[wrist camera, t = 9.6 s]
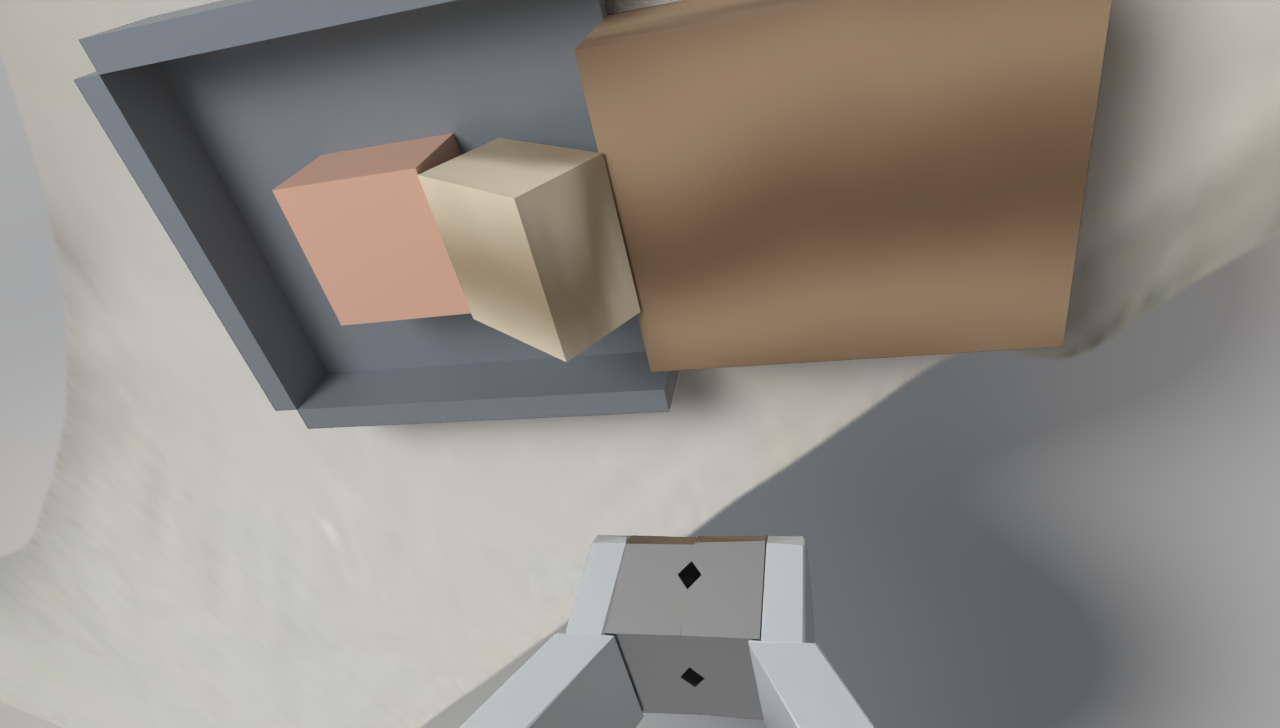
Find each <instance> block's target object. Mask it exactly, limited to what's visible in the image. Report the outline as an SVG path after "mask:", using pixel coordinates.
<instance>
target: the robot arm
mask: <svg viewBox="0 0 1280 728" xmlns="http://www.w3.org/2000/svg"><path fill="white" fill-rule="evenodd" d="M642 712H644V713H672V714H698V715H711V716H722V717H733V718H744V719H755V720H764V722H765V725H766V727H767V728H875V727H874V726H873V725H872V723H871V722H870V720H869V719H868V717H867V716H866V714H865V713H864V711H863V710H862V709H861V707H860V706H859V704H858V703H857V701H856V700H855V699H854V697H853V696H852V694H851V692H850V691H849V690H848V688H847V687H846V685H845V684H844V682H843V681H842V679H841V678H840V676H839V675H838V674H837V672H836V671H835V669H834V668H833V666H832V665H831V663H830V662H829V661H828V659H827V658H826V656H825V655H824V653H823V652H822V650H821V649H820V647H819V646H818V644H817V643H815V635H814V615H813V600H812V586H811V577H810V568H809V558H808V548H807V540H806V537H805V536H768V535H767V536H699V537H698V538H696V537H663V536H614V535H597V537H596V538H595V540H594V541H593V543H592V544H591V547H590V550H589V554H588V557H587V561H586V564H585V567H584V571H583V574H582V578H581V581H580V585H579V588H578V592H577V595H576V598H575V602H574V605H573V609H572V612H571V616H570V619H569V623H568V626H567V630H566V633H555V634H554V635H553V636H552V637H551V638H550V639H549V640H548V641H547V642H546V643H545V644H544V645H543V646H542V647H541V648H540V649H539V650H538V651H537V652H536V653H535V654H534V655H533V656H532V657H531V658H530V659H529V660H528V661H527V662H526V663H525V664H524V665H523V666H522V667H521V668H520V669H519V670H518V671H517V672H516V673H514V675H512V676H511V677H510V678H509V679H508V680H507V681H506V682H505V683H504V684H503V685H502V686H501V687H500V688H499V689H498V690H497V691H496V692H495V693H494V694H493V695H492V696H491V697H490V698H489V699H488V700H487V701H486V702H485V703H484V704H483V705H482V706H481V707H480V708H479V709H478V710H477V711H476V712H475V713H474V714H473V715H472V716H470V718H469V719H468V720H466V721H465V722H464V723H463V724H462V725H461V726H460V727H459V728H636V726H637V725H638V723H639V722H640V721H641V719H642V718H643V713H642Z"/></svg>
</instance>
